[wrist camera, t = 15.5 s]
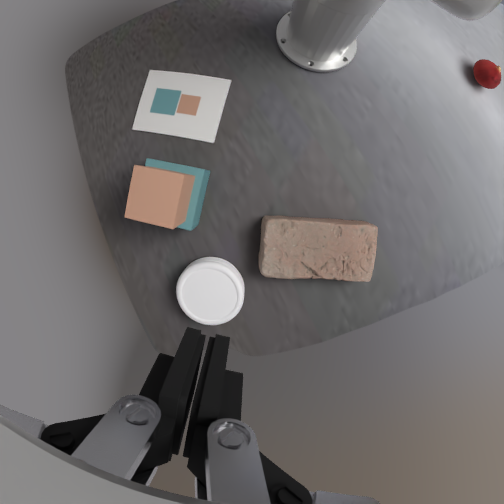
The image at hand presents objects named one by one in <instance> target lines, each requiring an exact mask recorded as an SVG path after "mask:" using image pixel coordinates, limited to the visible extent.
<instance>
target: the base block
mask: <svg viewBox="0 0 504 504" xmlns="http://www.w3.org/2000/svg"><path fill="white" fill-rule="evenodd" d="M145 166H149V167H156V168H161V169H166V170H171V171H176V172H181V173H185V174H190V175H195V180H194V185H193V189H192V193H191V198H190V202H189V207H188V211H187V216H186V221H185V222H184V223H182V224H180V225H179V226H177V227H178V228H182V229H186V230H190V231H191V230H192V229H194V228H195V227H196V226H197V225H198V223H199V219H200V214H201V210H202V205H203V201H204V196H205V192H206V188H207V184H208V179H209V175H210V171H209V170H204V169H200V168H195V167H190V166H185V165H180V164H175V163H170V162H164V161H159V160H154V159H148V158H147V160H146V164H145Z"/></svg>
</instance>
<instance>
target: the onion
mask: <svg viewBox="0 0 504 504" xmlns="http://www.w3.org/2000/svg"><path fill="white" fill-rule="evenodd" d="M473 70H474V77H475V79H476V81H477V82H478V83H479V84H480V85H481V86H483V87H485V88H488V89H494V88H495V87H497V86H498V85H499V84H500V81H501V72H500V71H501V68H500V66H496V65H495V64H494V63H493V62H491V61H489V60H483V59H482V60H479V61H477V62H476V63H475V65H474V68H473Z"/></svg>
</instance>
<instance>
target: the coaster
mask: <svg viewBox="0 0 504 504" xmlns="http://www.w3.org/2000/svg"><path fill="white" fill-rule="evenodd" d="M244 291H245V289H244V282H243V279H242V276H241V274H240V273H239V271H238V270H237V269H236V268H235V267H234V266H233V265H232V264H231V263H229V262H228V261H226V260H224V259H221V258H217V257H204V258H200V259H197V260H195V261H193V262H192V263H190V264H189V265H188V266H187V267H186V268H185V270H184V271H183V272H182V274H181V275H180V277H179V279H178V282H177V287H176V294H177V300H178V303H179V305H180V307H181V309H182V310H183V311H184V313H185V314H186V315H187V316H189V317H190V318H191V319H193V320H194V321H196V322H198V323H201V324H205V325H219V324H223V323H225V322H227V321H229V320H231V319H232V318H233V317H235V316H236V315H237V313H238V312H239V311H240V309H241V307H242V305H243V301H244Z"/></svg>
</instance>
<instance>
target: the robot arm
mask: <svg viewBox="0 0 504 504" xmlns="http://www.w3.org/2000/svg"><path fill="white" fill-rule="evenodd" d="M430 1H432V2H433V3H435V4H437V5H438V6H440V7H441V8H442V9H444V10H446V11H447V12H449V13H450V14H452V15H454V16H456V17H458V18H460V19H463V20H477V19H480V18H482V17H484V16H486V15H487V14H489V13H490V12H491V11H492V10H493V9H494V8H495V7H497V6H498V5H499V3H500V2H501V1H502V0H430ZM384 2H385V0H294V2H293V6H292V10H291V11H289V12H288V13H286V14H285V15H284V16H283V17H282V18H281V19H280V21H279V23H278V25H277V29H276V39H277V43H278V45H279V48H280V49H281V51H282V52H283V54H284V55H285V56H286V57H287V58H288V59H289V60H290V61H292V62H293V63H295V64H296V65H298V66H300V67H302V68H305V69H308V70H311V71H316V72H333V71H337V70H340V69H342V68H344V67H345V66H347V65H348V64H349V63H350V62H351V61H352V59H353V58H354V56H355V54H356V51H357V40H356V37H357V36H358V35H359V33H360V32H361V31H362V30H363V28H364V27H365V26H366V24H367V23H368V22H369V21H370V19H371V18H372V17H373V16H374V14H375V13H376V12H377V11H378V9H379V8H380V7H381V6H382V4H383V3H384ZM282 42H284V43H282ZM343 60H344V61H345V62H344V61H343ZM309 65H312V66H309ZM205 336H206V335H202V334H201V330H197V329H193V328H189V327H187V329H186V331H185V334H184V336H183V338H182V341H181V343H180V345H179V348H178V350H177V353H176V355H175V357H173V356H169V355H166V354H162V353H160V354H159V355H158V358H157V360H156V361H155V363H154V365H153V367H152V369H151V371H150V373H149V375H148V377H147V380H146V381H145V383H144V386H143V388H142V390H141V392H140V394H139V395H127V396H124V397H121V398H120V399H119V400H118V401H116V403H115V404H114V405H113V406H112V407H111V408H110V410H109V411H108V412H107V413H106V414H103V415H99V416H93V417H89V418H83V419H78V420H73V421H67V422H61V423H55V424H52V425H49V426H48V425H45V424H44V422H43V421H41V420H38V419H35V418H32V417H30V416H27V415H24V414H22V413H19V412H17V411H14V410H11V409H9V408H7V407H4V406H2V405H0V504H380V503H379V502H378V501H377V500H375V499H374V498H371V497H365V496H354V495H345V494H338V493H331V492H324V491H318V490H317V491H316V492H315V493H314V492H309V491H308V490H307V489H306V488H305V487H304V486H303V485H301V484H300V483H299V482H297V481H296V480H295V479H293V478H292V477H291V476H289V475H288V474H287V473H285V472H284V471H283V470H281V469H280V468H279V467H278V466H277V465H275V464H274V463H273V462H272V461H270V460H269V459H268V458H267V457H266V456H264V455H263V454H262V453H261V452H260V451H259V449H258V445H257V440H256V436H255V434H254V431H253V430H252V429H251V428H250V426H248V425H247V424H245V423H244V422H241V405H242V404H241V403H242V386H243V373H238V372H234V371H229V370H225V368H226V362H227V354H228V348H229V341H230V337H226V336H222V335H217V334H216V338H214V337H210V338H209V342H208V346H207V350H206V353H205V357H204V361H203V365H202V369H201V373H200V377H199V380H198V384H197V388H196V392H195V396H194V400H193V405H192V409H191V415H190V420H189V425H188V430H187V436H186V441H185V448H184V453H183V456H184V457H188V458H189V460H188V465H187V467H188V468H189V470H190V471H191V472H192V473H193V474H194V475H195V476H196V477H195V498H192V497H187V496H183V495H179V494H174V493H170V492H167V491H163V490H159V489H155V488H152V487H149V484H150V482H151V481H152V479H153V477H154V475H155V473H156V471H157V468H158V466H159V465H162V464H165V463H167V462H168V461H171V457H172V454H176V455H178V453H179V449H180V445H181V441H182V437H183V433H184V429H185V425H186V421H187V418H188V414H189V410H190V406H191V402H192V398H193V394H194V390H195V385H196V381H197V375H198V371H199V366H200V361H201V356H202V351H203V346H204V341H205Z"/></svg>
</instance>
